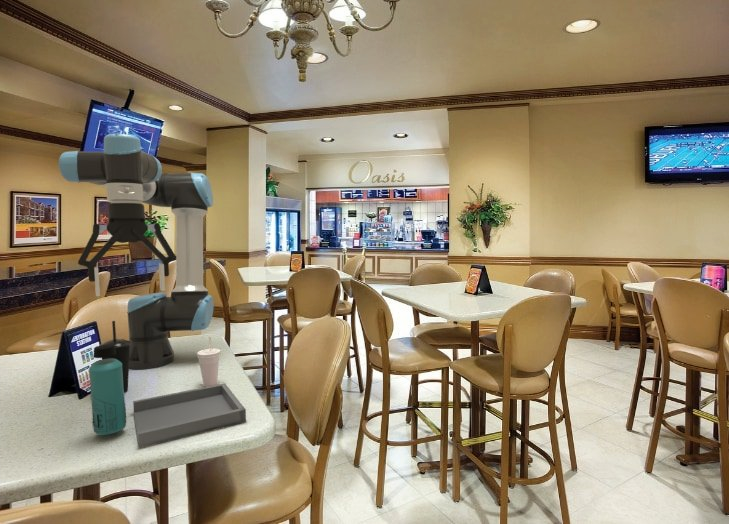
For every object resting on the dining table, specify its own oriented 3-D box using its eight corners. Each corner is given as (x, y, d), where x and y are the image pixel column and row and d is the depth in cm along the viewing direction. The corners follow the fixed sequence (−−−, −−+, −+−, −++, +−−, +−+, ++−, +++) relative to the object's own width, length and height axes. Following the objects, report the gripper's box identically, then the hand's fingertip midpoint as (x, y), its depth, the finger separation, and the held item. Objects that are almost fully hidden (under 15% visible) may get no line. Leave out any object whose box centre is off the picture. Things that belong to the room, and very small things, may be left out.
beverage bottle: (133, 427, 97) (128, 341, 95) (115, 442, 90) (109, 349, 89) (105, 427, 97) (100, 341, 95) (85, 442, 90) (79, 349, 89)
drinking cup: (109, 399, 113) (104, 325, 112) (97, 393, 118) (92, 322, 116) (138, 390, 119) (134, 320, 118) (126, 385, 124) (121, 317, 122)
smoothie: (214, 389, 120) (212, 340, 119) (193, 387, 121) (191, 339, 120) (226, 381, 126) (224, 334, 125) (206, 379, 127) (204, 333, 126)
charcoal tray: (133, 413, 105) (133, 401, 104) (225, 394, 116) (225, 383, 116) (139, 448, 88) (138, 434, 87) (246, 421, 99) (245, 409, 99)
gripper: (60, 200, 90) (67, 300, 92) (185, 202, 104) (190, 289, 105) (61, 202, 96) (68, 295, 98) (179, 204, 110) (183, 286, 112)
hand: (131, 292), depth 102 cm, fingers open, 13 cm apart
